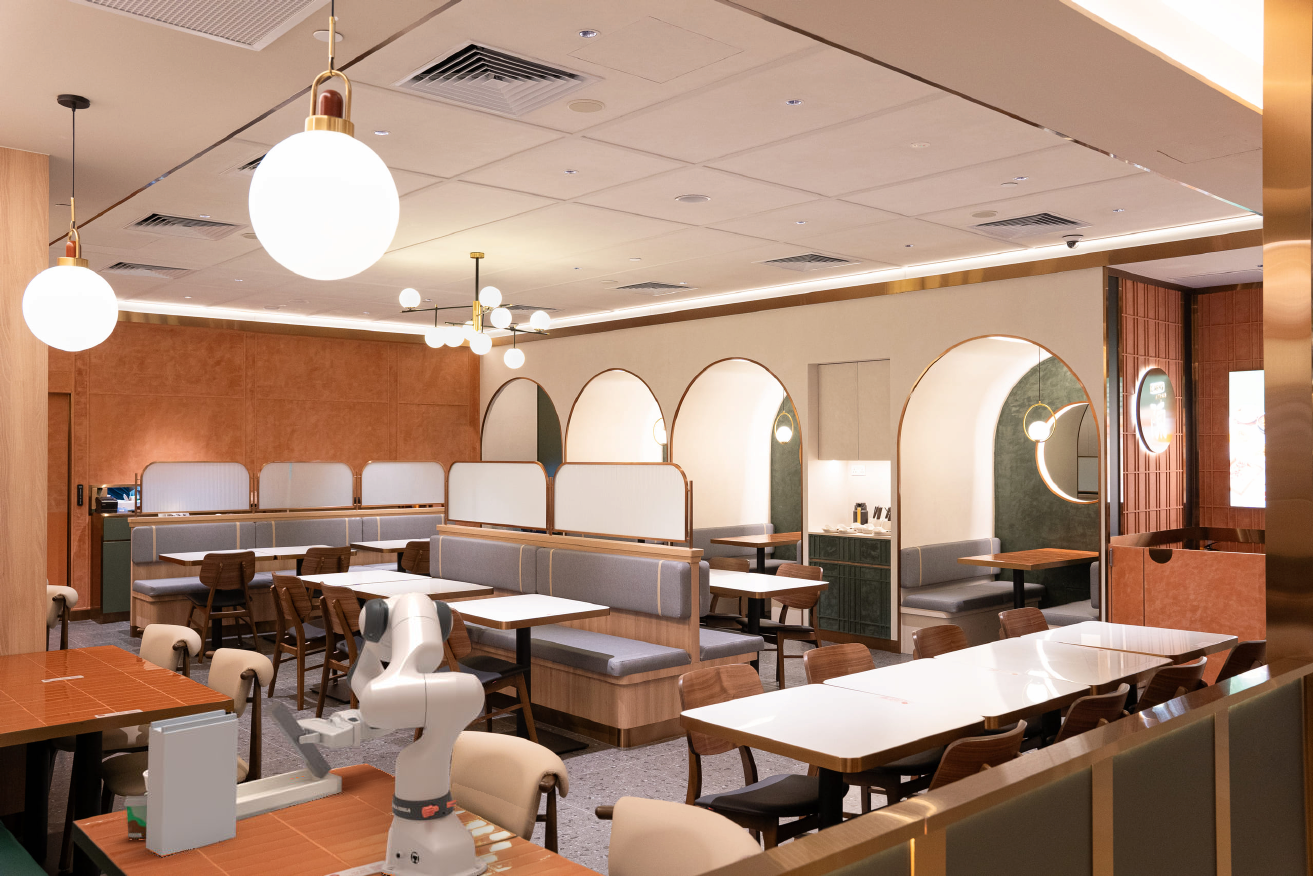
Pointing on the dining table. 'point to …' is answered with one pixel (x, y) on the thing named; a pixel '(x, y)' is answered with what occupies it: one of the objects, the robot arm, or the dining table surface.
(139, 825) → the food container
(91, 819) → the dining table surface
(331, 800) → the dining table surface
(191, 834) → the channel block
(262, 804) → the tray
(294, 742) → the dark gray bar
